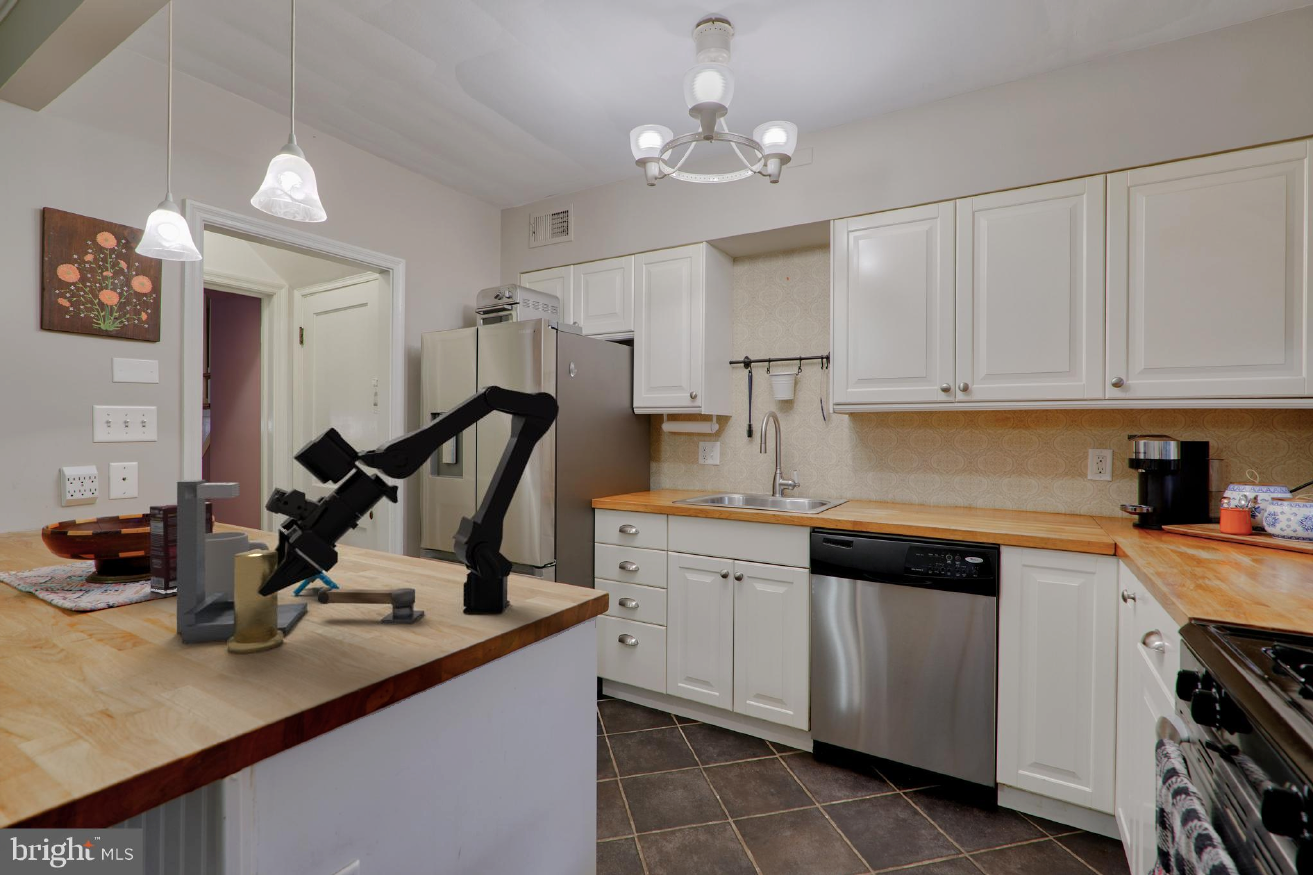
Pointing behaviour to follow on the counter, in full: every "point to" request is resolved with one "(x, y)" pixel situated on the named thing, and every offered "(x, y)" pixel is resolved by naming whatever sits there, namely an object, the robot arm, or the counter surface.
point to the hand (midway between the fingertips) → (259, 587)
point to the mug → (225, 559)
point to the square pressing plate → (402, 615)
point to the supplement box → (167, 544)
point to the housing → (254, 604)
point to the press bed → (193, 610)
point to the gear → (306, 582)
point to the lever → (367, 596)
